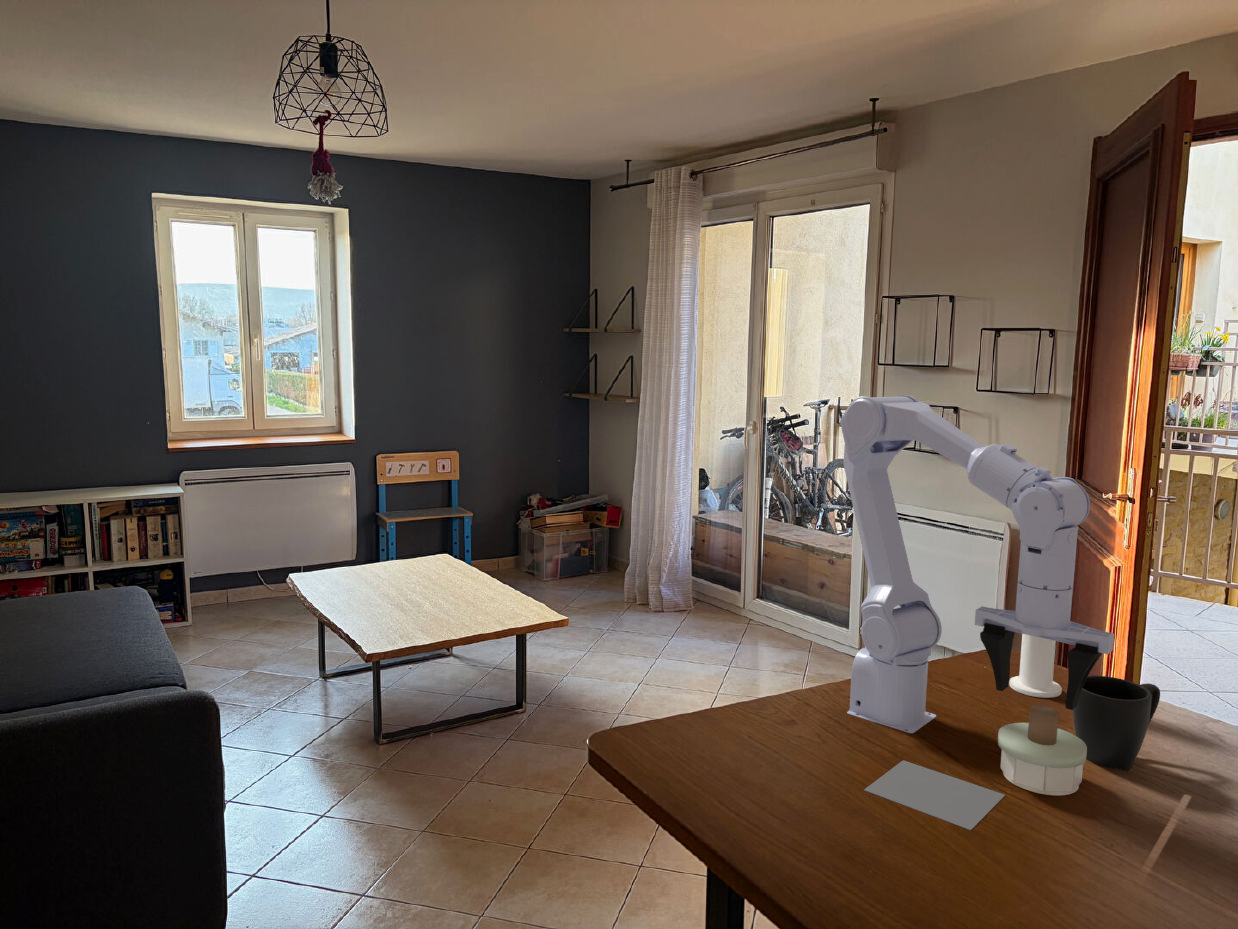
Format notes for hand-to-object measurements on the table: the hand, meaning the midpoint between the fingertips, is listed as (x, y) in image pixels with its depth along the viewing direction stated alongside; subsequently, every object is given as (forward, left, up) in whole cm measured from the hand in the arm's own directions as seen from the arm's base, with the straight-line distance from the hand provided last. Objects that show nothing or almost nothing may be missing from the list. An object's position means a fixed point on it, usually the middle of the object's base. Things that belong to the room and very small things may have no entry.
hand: (1035, 697), depth 102 cm
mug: (+6, +12, -10) cm, 17 cm away
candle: (-9, +29, -10) cm, 32 cm away
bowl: (+1, -1, -10) cm, 10 cm away
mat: (-6, -13, -10) cm, 17 cm away
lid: (+1, -1, -6) cm, 6 cm away
